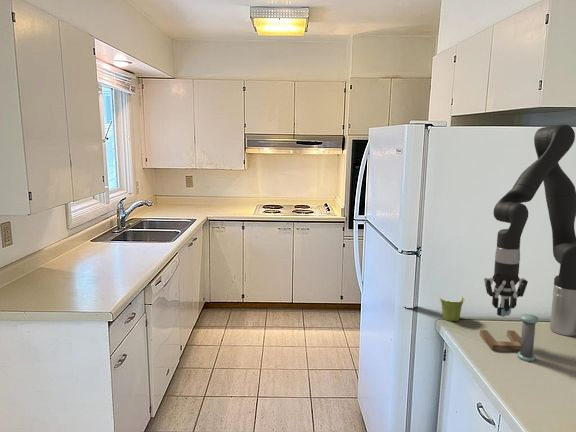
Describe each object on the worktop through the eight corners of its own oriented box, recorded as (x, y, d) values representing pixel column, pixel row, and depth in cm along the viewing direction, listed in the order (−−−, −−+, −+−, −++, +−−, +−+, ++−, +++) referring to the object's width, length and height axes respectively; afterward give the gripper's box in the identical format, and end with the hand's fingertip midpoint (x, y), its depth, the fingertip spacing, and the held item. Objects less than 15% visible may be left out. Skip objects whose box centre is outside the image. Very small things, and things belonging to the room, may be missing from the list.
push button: (504, 309, 155) (505, 282, 154) (518, 314, 151) (520, 287, 149) (492, 313, 152) (494, 286, 150) (506, 318, 148) (508, 290, 146)
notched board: (513, 335, 157) (514, 330, 157) (529, 351, 145) (529, 345, 145) (479, 335, 158) (479, 329, 158) (492, 350, 146) (492, 345, 146)
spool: (530, 354, 143) (533, 314, 141) (537, 361, 138) (541, 320, 136) (514, 354, 144) (517, 313, 141) (521, 361, 139) (524, 320, 136)
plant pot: (434, 318, 173) (435, 298, 172) (444, 312, 180) (445, 292, 178) (457, 325, 167) (458, 303, 165) (467, 318, 173) (468, 297, 172)
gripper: (524, 257, 151) (520, 303, 154) (481, 257, 153) (478, 303, 155) (534, 263, 144) (530, 312, 147) (489, 262, 145) (486, 311, 148)
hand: (503, 307), depth 151 cm, fingers closed on push button, 5 cm apart
